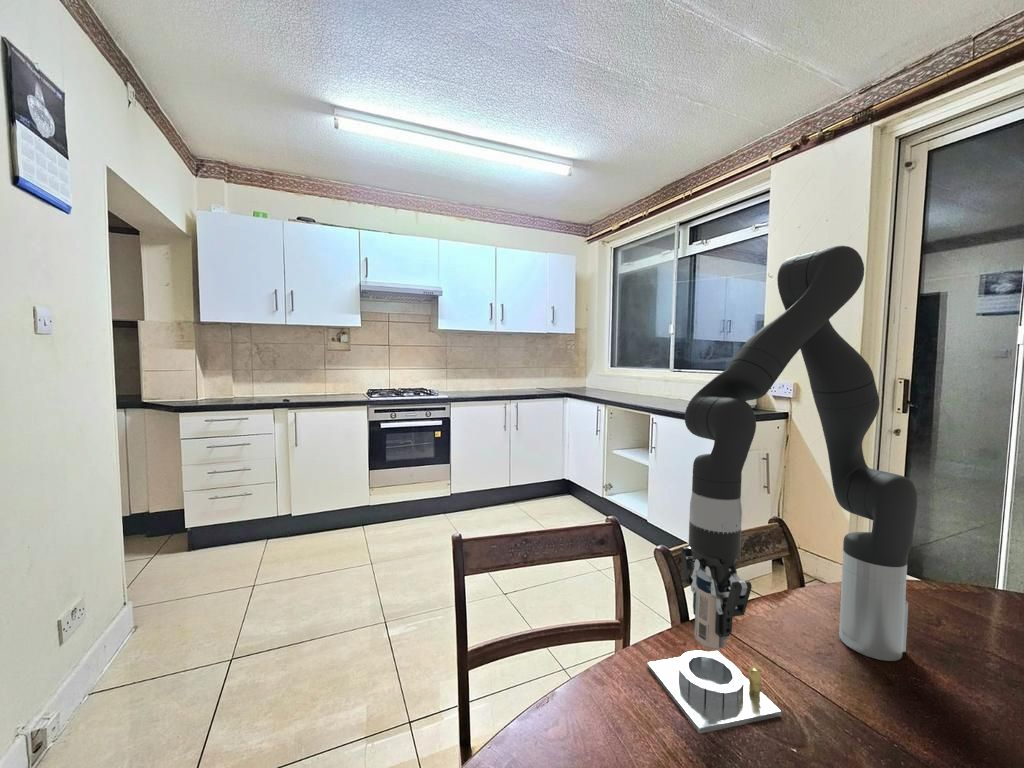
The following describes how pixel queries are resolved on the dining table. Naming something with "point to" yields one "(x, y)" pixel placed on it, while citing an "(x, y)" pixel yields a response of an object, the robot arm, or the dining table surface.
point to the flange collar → (713, 690)
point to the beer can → (707, 613)
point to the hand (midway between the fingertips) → (711, 624)
